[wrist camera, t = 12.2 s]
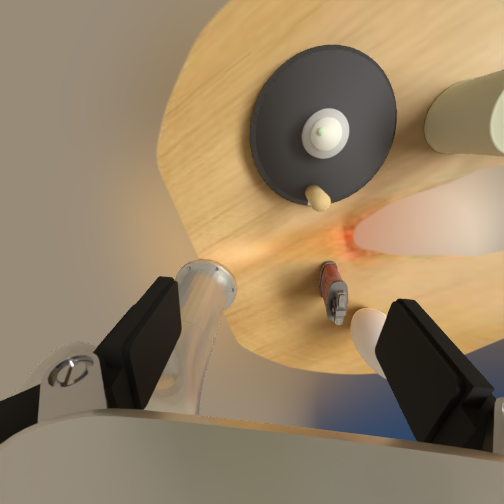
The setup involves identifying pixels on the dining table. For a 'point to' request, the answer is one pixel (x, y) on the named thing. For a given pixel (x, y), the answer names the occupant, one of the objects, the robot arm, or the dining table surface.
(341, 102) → the wheel
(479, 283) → the dining table surface
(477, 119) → the can
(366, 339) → the sauce bottle
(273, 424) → the robot arm
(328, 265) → the lighter
